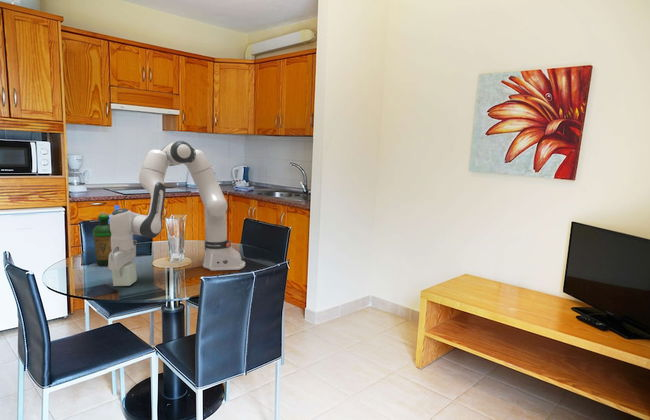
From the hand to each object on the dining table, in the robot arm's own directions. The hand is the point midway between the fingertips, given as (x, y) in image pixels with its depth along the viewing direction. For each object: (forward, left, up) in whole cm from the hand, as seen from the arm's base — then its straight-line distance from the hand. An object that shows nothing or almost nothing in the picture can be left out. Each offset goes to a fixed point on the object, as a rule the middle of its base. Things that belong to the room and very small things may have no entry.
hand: (123, 274), depth 189 cm
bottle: (+23, -31, -5) cm, 39 cm away
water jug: (+27, -55, -5) cm, 61 cm away
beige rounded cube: (-1, 0, -4) cm, 4 cm away
